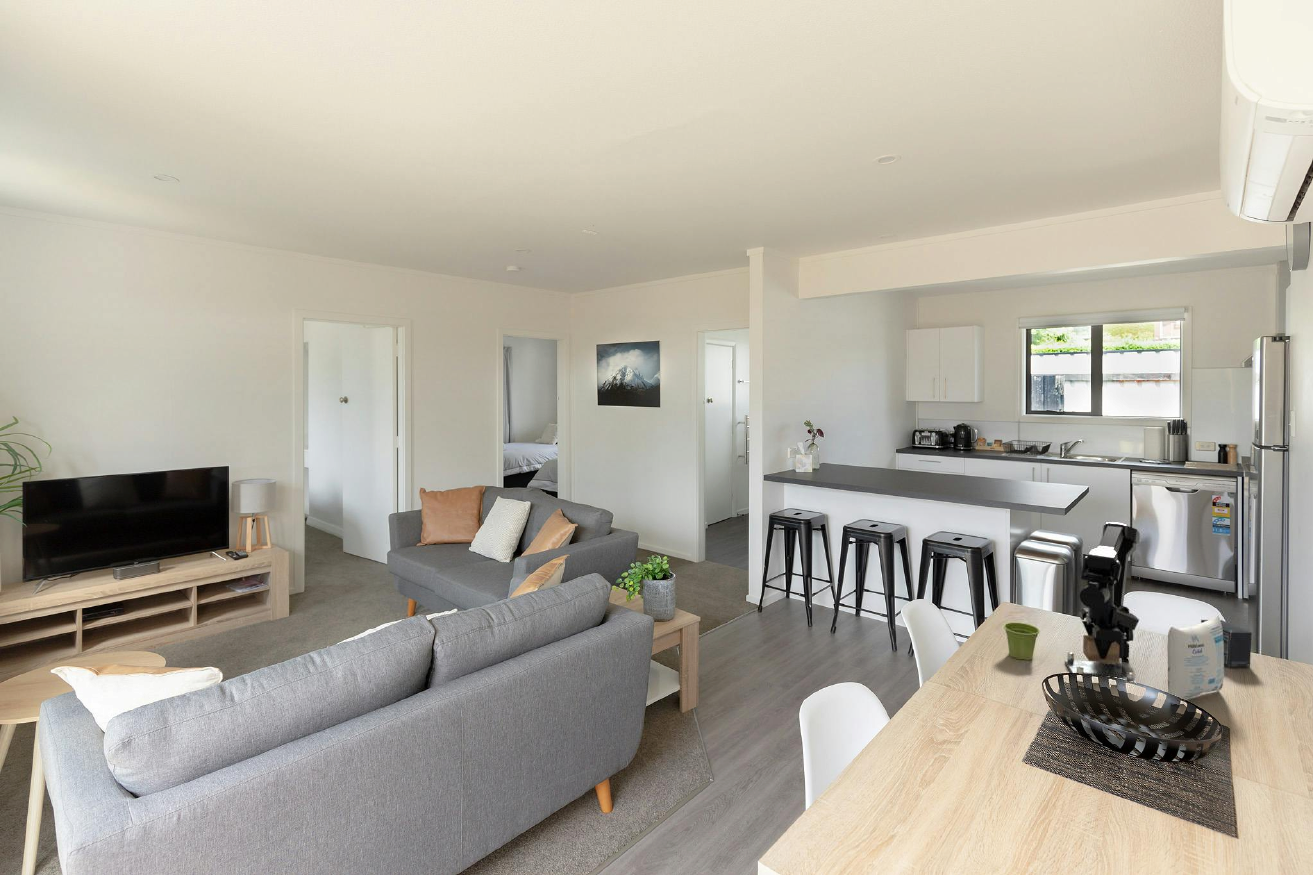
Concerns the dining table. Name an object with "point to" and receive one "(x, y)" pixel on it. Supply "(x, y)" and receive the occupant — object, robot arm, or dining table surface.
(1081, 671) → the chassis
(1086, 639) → the brown block
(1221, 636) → the pouch
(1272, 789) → the dining table surface
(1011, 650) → the plant pot
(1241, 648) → the small box
